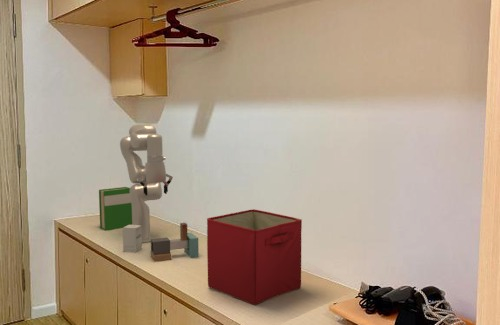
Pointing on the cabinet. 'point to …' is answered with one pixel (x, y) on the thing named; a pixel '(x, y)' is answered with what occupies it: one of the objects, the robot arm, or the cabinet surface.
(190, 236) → the socket
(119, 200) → the hardback book
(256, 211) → the storage cube
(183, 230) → the multicoloured piece
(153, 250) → the grey block with backplate
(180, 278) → the cabinet surface
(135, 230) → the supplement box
